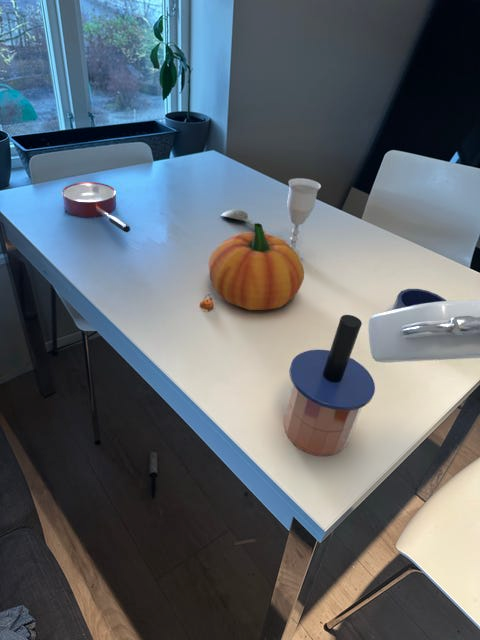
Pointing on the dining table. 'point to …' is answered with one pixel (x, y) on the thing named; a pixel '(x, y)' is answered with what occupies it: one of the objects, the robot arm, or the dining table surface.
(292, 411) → the pot
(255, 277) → the pumpkin
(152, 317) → the dining table surface
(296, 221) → the chalice
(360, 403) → the lid
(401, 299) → the blue round container
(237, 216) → the soupspoon
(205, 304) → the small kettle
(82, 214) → the frying pan
